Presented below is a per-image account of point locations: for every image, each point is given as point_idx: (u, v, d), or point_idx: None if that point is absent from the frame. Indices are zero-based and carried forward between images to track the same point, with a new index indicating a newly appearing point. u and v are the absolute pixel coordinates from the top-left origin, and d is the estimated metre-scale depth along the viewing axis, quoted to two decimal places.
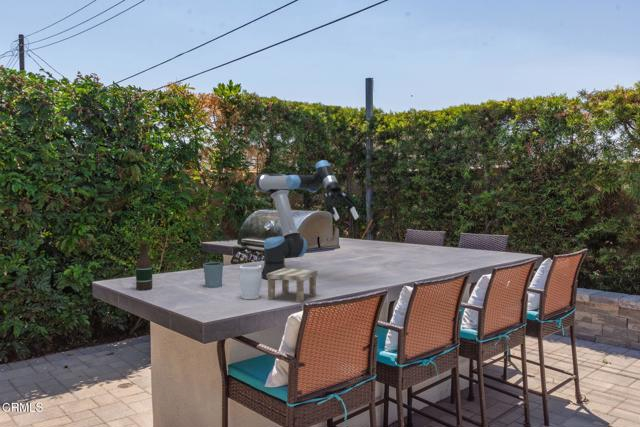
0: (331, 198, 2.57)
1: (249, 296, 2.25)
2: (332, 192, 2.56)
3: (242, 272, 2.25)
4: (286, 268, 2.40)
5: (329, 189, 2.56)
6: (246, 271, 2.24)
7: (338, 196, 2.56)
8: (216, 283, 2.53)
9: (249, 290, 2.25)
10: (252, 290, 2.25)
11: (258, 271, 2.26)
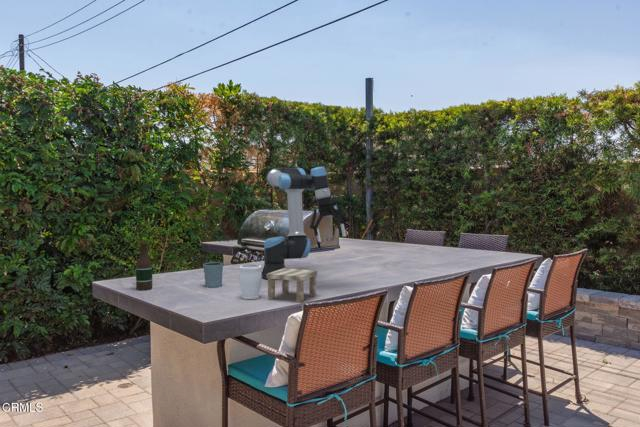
0: None
1: (249, 296, 2.25)
2: (321, 208, 2.42)
3: (242, 272, 2.25)
4: (286, 268, 2.40)
5: (318, 204, 2.42)
6: (246, 271, 2.24)
7: (327, 212, 2.43)
8: (216, 283, 2.53)
9: (249, 290, 2.25)
10: (252, 290, 2.25)
11: (258, 271, 2.26)
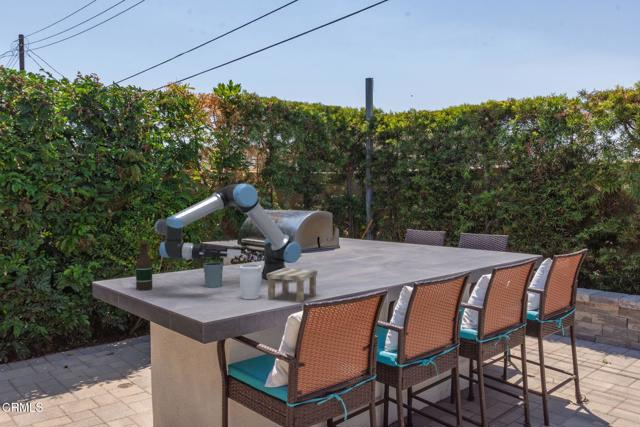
0: (210, 248, 2.33)
1: (249, 296, 2.25)
2: None
3: (242, 272, 2.25)
4: (286, 268, 2.40)
5: None
6: (246, 271, 2.24)
7: None
8: (216, 283, 2.53)
9: (249, 290, 2.25)
10: (252, 290, 2.25)
11: (258, 271, 2.26)
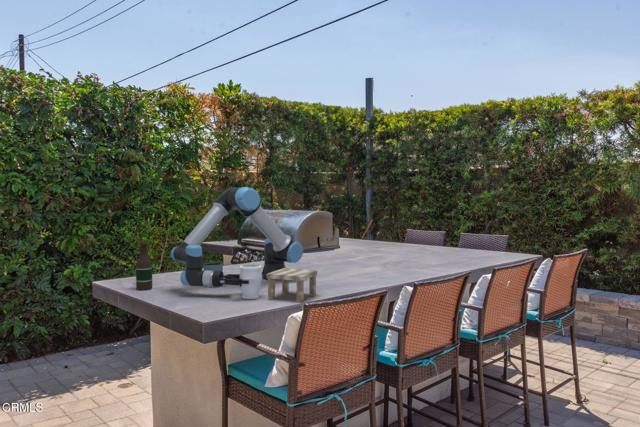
0: (230, 274, 2.33)
1: (249, 296, 2.26)
2: None
3: (242, 272, 2.25)
4: (286, 268, 2.40)
5: None
6: (246, 271, 2.24)
7: None
8: None
9: (249, 290, 2.25)
10: (252, 290, 2.25)
11: (258, 271, 2.26)
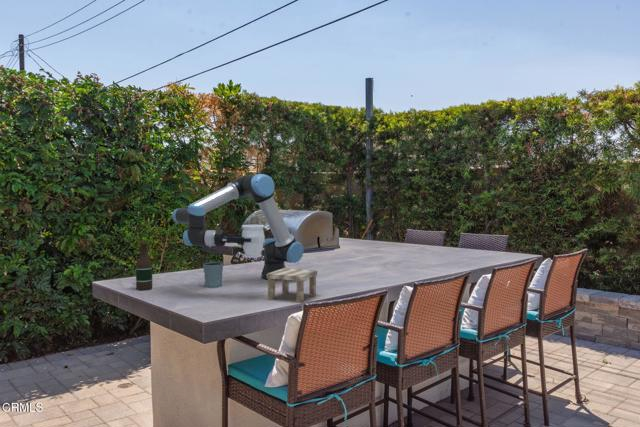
0: (232, 234, 2.32)
1: (251, 255, 2.24)
2: None
3: (244, 230, 2.24)
4: (286, 268, 2.40)
5: None
6: (248, 229, 2.23)
7: None
8: (216, 283, 2.53)
9: (251, 248, 2.23)
10: (254, 248, 2.24)
11: (260, 230, 2.25)
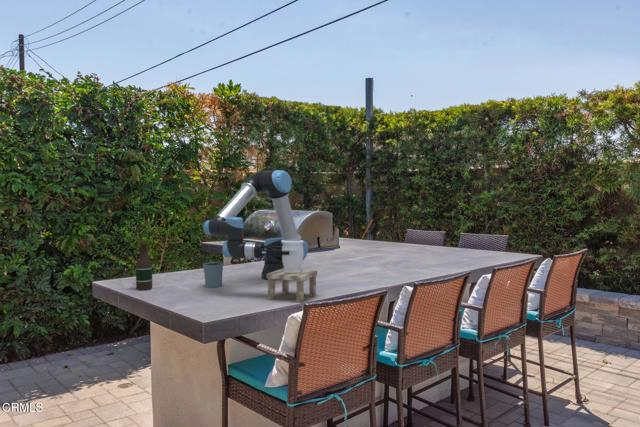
0: None
1: (292, 270, 2.26)
2: None
3: (285, 246, 2.25)
4: None
5: None
6: (289, 245, 2.24)
7: None
8: (216, 283, 2.53)
9: (292, 264, 2.25)
10: (295, 264, 2.25)
11: (300, 245, 2.26)
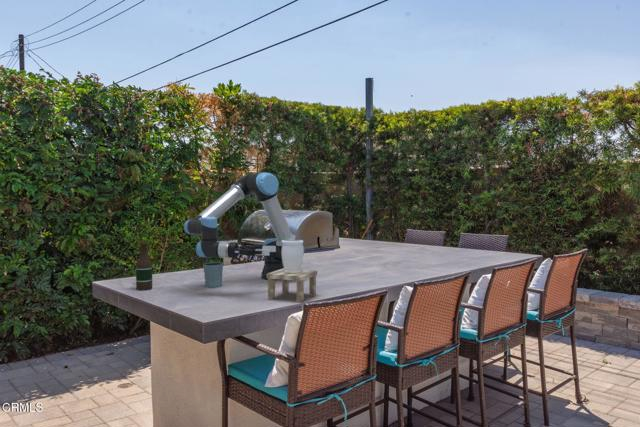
0: (245, 246, 2.35)
1: (292, 270, 2.26)
2: None
3: (285, 246, 2.25)
4: None
5: None
6: (289, 245, 2.24)
7: None
8: (216, 283, 2.53)
9: (292, 264, 2.25)
10: (295, 264, 2.25)
11: (300, 245, 2.26)
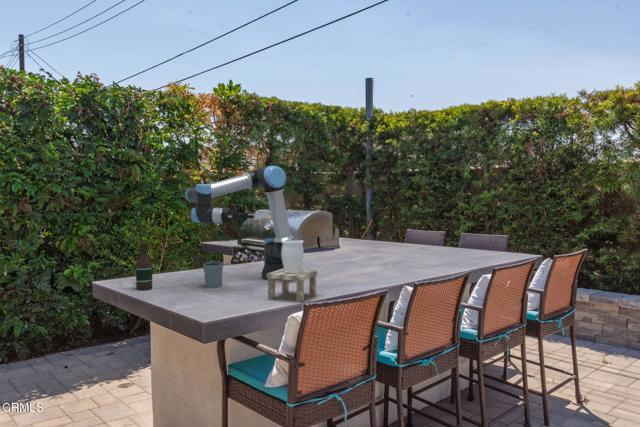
0: (238, 212, 2.42)
1: (292, 270, 2.26)
2: None
3: (285, 246, 2.25)
4: None
5: None
6: (289, 245, 2.24)
7: None
8: (216, 283, 2.53)
9: (292, 264, 2.25)
10: (295, 264, 2.25)
11: (300, 245, 2.26)
